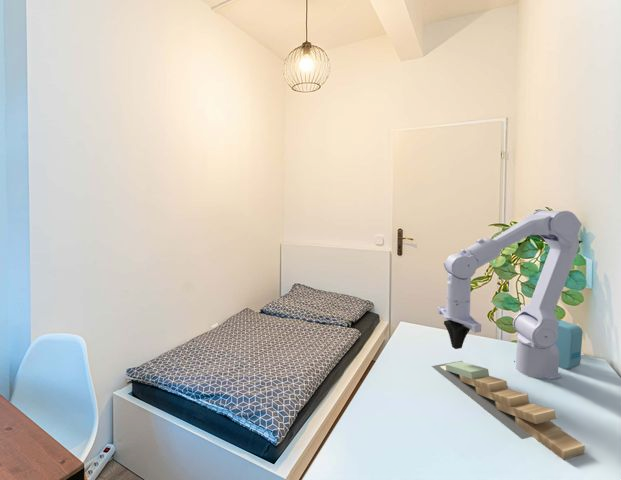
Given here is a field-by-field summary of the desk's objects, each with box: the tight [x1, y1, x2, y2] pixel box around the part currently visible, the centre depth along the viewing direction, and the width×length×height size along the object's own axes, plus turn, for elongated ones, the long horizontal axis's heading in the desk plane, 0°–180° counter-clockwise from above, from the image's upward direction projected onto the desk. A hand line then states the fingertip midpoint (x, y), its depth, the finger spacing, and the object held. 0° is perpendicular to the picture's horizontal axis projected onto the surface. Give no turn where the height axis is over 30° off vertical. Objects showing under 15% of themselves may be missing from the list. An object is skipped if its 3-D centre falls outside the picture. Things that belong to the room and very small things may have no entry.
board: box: [431, 360, 562, 440], centre depth 78 cm, size 10×29×1 cm, turn 14°
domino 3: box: [495, 401, 557, 424], centre depth 68 cm, size 2×5×10 cm
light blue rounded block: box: [555, 318, 583, 370], centre depth 93 cm, size 12×4×12 cm, turn 21°
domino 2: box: [475, 387, 530, 407], centre depth 74 cm, size 2×5×10 cm
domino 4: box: [515, 416, 586, 460], centre depth 63 cm, size 2×5×10 cm
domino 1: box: [459, 375, 509, 392], centre depth 79 cm, size 2×5×10 cm
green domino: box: [444, 361, 490, 379], centre depth 84 cm, size 2×5×10 cm
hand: (456, 347), depth 87 cm, fingers closed
